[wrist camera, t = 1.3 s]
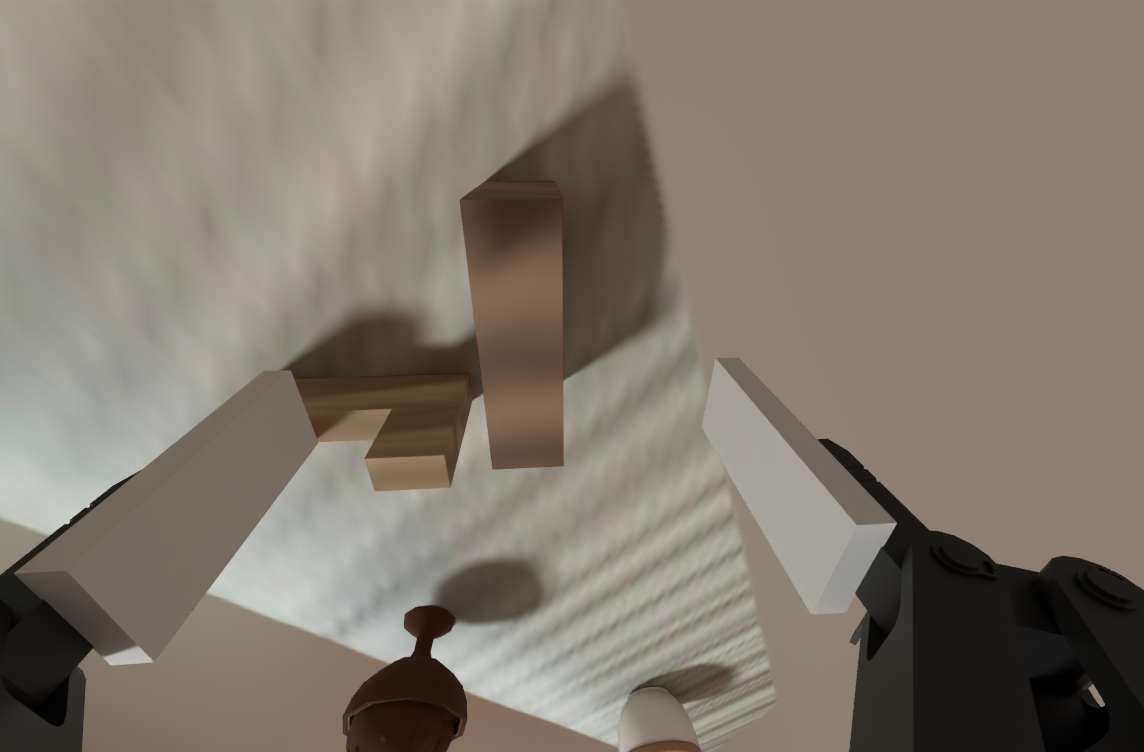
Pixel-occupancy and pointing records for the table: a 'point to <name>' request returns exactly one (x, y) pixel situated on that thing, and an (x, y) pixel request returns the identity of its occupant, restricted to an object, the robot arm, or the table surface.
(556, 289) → the walnut plate
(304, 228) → the table surface
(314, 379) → the oak board
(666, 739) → the lidded jar
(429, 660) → the ice cream bowl
